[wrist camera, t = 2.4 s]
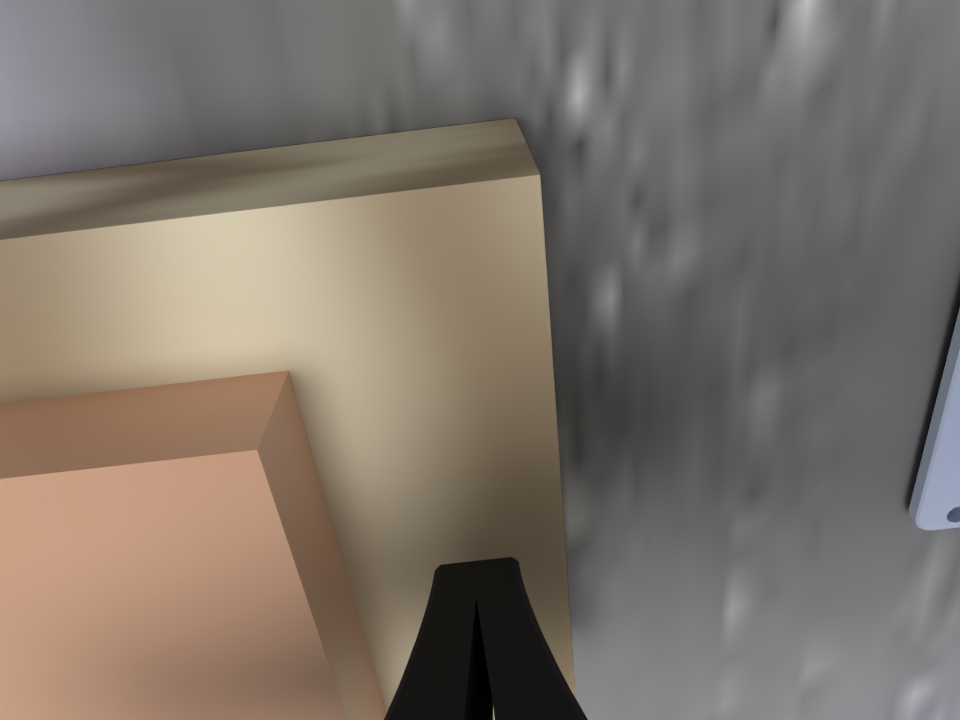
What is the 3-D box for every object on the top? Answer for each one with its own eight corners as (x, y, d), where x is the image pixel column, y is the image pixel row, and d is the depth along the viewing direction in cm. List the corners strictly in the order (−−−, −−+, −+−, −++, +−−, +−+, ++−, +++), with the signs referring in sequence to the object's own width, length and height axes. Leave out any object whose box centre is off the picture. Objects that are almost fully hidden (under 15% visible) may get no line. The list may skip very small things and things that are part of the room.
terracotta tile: (289, 370, 11) (257, 449, 9) (391, 728, 15) (383, 829, 13) (-98, 415, 11) (-204, 502, 9) (117, 757, 15) (73, 860, 13)
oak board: (515, 118, 13) (540, 174, 9) (557, 633, 20) (581, 776, 16) (-230, 209, 13) (-476, 297, 10) (69, 685, 20) (-11, 837, 16)
